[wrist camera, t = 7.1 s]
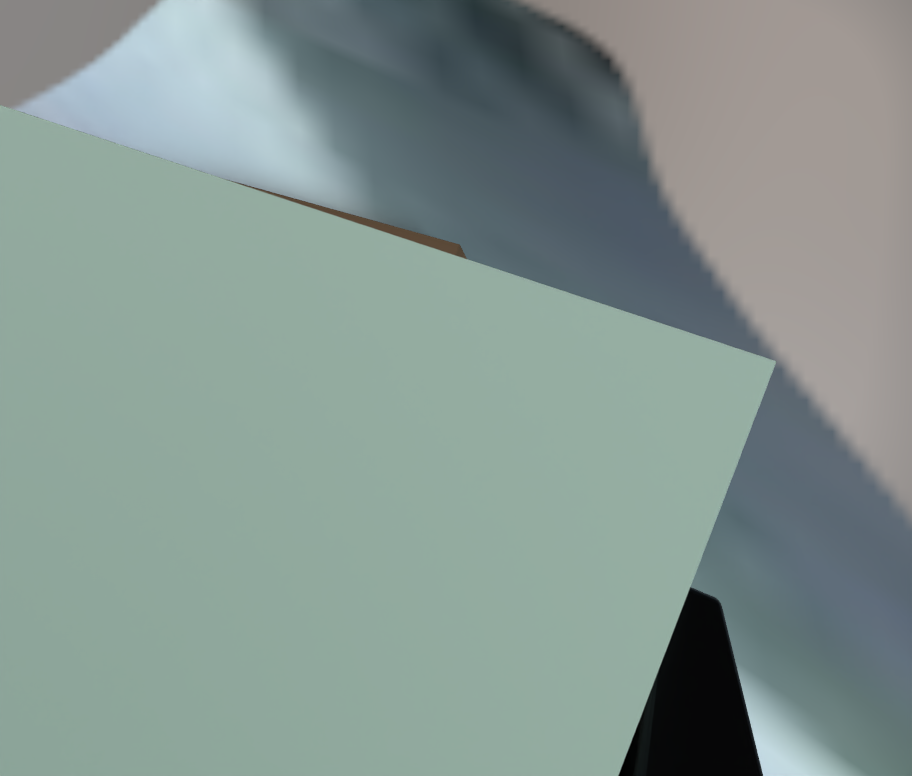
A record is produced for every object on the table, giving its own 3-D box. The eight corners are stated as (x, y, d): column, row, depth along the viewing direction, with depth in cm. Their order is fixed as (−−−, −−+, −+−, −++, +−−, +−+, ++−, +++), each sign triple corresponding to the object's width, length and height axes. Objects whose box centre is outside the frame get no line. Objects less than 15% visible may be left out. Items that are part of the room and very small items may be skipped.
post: (589, 825, 14) (216, 1832, 2) (381, 714, 15) (-615, 940, 3) (676, 598, 15) (776, 363, 3) (470, 509, 16) (-74, 80, 4)
